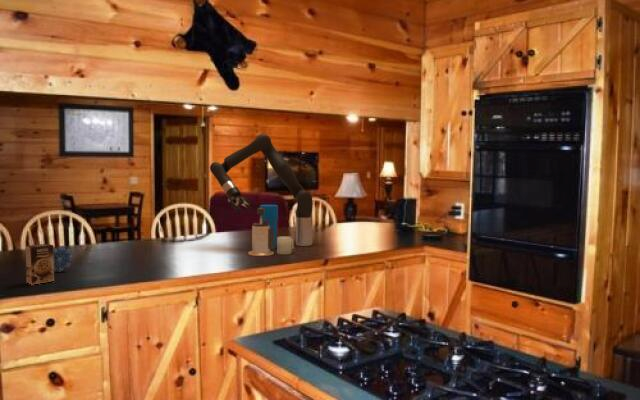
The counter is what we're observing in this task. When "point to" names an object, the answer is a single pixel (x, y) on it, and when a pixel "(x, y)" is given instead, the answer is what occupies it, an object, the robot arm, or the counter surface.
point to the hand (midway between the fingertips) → (245, 211)
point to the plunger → (261, 211)
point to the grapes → (61, 258)
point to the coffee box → (39, 264)
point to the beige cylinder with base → (262, 240)
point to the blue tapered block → (271, 219)
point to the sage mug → (284, 245)
